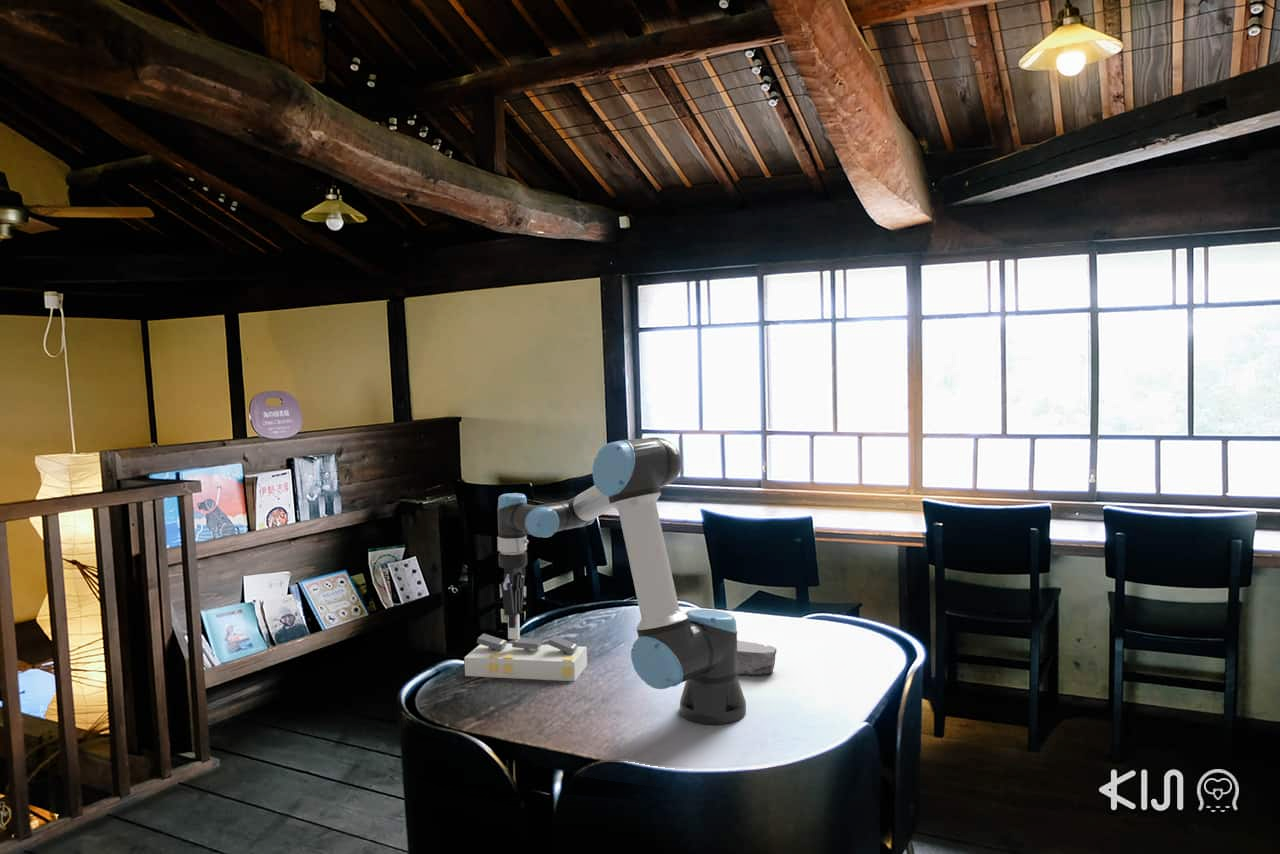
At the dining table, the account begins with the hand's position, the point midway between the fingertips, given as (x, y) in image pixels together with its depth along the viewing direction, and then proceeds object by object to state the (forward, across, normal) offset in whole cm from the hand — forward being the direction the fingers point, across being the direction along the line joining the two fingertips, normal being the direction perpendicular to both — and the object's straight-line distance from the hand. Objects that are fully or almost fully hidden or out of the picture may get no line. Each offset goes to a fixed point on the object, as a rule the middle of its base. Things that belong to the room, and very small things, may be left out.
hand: (514, 638), depth 218 cm
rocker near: (+1, 0, -14) cm, 14 cm away
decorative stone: (+7, +6, -62) cm, 63 cm away
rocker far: (+1, 0, +6) cm, 6 cm away
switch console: (+8, -1, -4) cm, 9 cm away
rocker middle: (+1, 0, -4) cm, 4 cm away
